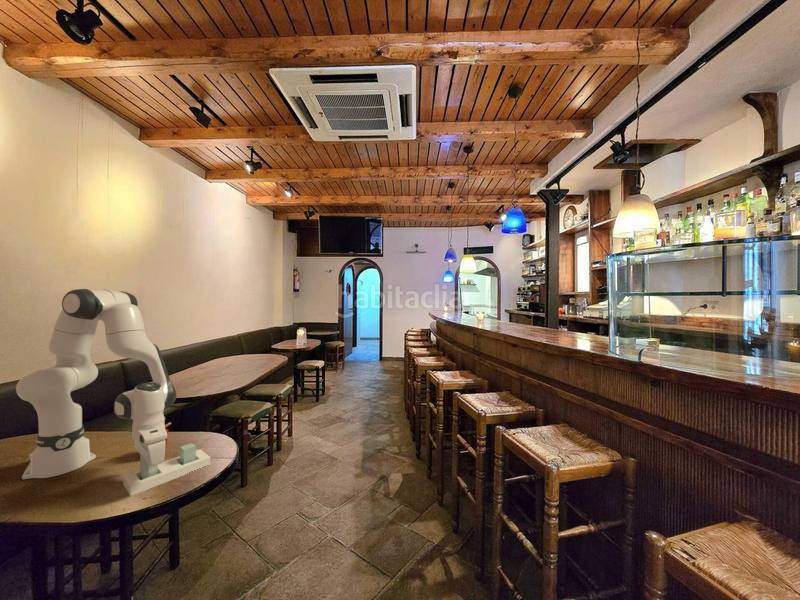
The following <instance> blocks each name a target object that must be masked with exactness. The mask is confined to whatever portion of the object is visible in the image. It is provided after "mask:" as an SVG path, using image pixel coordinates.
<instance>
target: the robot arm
mask: <svg viewBox="0 0 800 600" xmlns="http://www.w3.org/2000/svg"><path fill="white" fill-rule="evenodd" d="M138 305H139V304H138V299H137V297H136V296H135V295H134V294H132V293H130V292H127V291H121V290H120V291H118V290H113V289H112V290H111V289H106V288H105V289H89V288H79V289H73V290H70V291H68V292H67V293H66V294H65V295H64V296H63V298H62V301H61V307H62V309H61V312H60V313H59V314H58V317H57V319H56V322H55V325H54V327H53V329H52V330H53V332H52V334H51V338H50V340H49V343H48V350H49V352H50V353H52V354H53V355H55V358H56V360H55V362H56V363H55V365H54V366H50V367H47V368H42V369H39V370H38V369H37V370H35V371H33V372H32V373H29V374H27V375H24V376H23V377H22V378H20V379H19V380H18V382H17V383H16V386H15V392H16V394H17V395H18V397H19V398H20V399H21V400H23V401H25V402H29V403H30V404H31V405H32V406H33V408H34V409H35V411H36V413H37V420H38V423H37V424H38V435H36V439H35V440H36V448H35V449H34V450H33V451H32V452H30V453H29V454H28V461H30V462H29V464H28V465H27V467H26V468H25V470H24V472H23V474H22V476H21V479H22V480H28V479H30V480H31V479H48V478H52V477H56V476H61V475H65V474H67V473H70V472H73V471H75V470H78V469H79V468H81V467H83V466H85V465H86V464H87V463H89V462H91V461H92V460H94V459H96V458H97V455H96V454H95V453H93V452H91V450H90V439H89V438H87V437H85V436H84V435H85V433H84V432H85V428H84V425H83V408H82V406H81V404H79V403H78V402H77V403H76V402H74V401H73V399H72V397H71V393H72V392H73V391H77V390H79V389H83V388H85V387H86V386H88V385H90V384H91V383H92V382H94V381H95V380H96V379H97V378H98V375H99V369H98V367H97V365H96V364H95V363H93V362H92V358H91V357H92V356H91V355H92V354H91V351H92V347H93V343H94V339H95V335H96V331H97V327H98V324H99V321H100V320H101V321H102V322H103V324H104V329H105V330H104V331H105V332H104V333H105V342H106V345H107V348H108V350H109V351H110V352H111V353H113V354H114V355H116V356H119V357H122V358H126V359H133V360H137V361H140V362H143V363H145V364H146V366H147V368H148V370H149V374H150V376H151V379H152V381H153V382H149V381H148V382H142V383H140V384H138V385H136V386H135V387H134V389H132V390H128V391H124V392H122V393H119V395H117V397H116V398H115V400H114V402H113V413H114V416H116V417H117V418H120V419H122V420H130V419H131V420H132V426H131V428H132V431H131V433H132V435H131V436H132V440H133V441H134V448H135V450H136V451H137V452H138V453H139V455H142V457H143V458H144V459H145V460H146V462H147V463H148V467H147V471H148V472H149V473H151V472H154V471H155V465H158V464H161V463H163V462H164V461H165V456H166V451H165V439H167V440H168V437H167V431H166V429H167V428H166V429H165V425H166V424H165V420H166V417H165V416H164V411H165V410H168V409H170V408H171V406H173V404H174V403H175V401H176V399H177V391H176V388H175V386H174V384H173V383H172V381H171V378H170V376H169V373H168V370H167V366H166V364H165V361H164V358H163V356H162V353H161V350H160V349H159V347H158V345H157V344H155V343H152V341H150V339H149V338H148V336H147V333H146V327H145V326H146V325H145V322H144V318H143V315H142V313H141V310H140V308H139V307H138Z"/></svg>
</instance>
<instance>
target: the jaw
mask: <svg viewBox="0 0 800 600" xmlns="http://www.w3.org/2000/svg"><path fill="white" fill-rule="evenodd" d="M139 459H140V460H139V470H140V478H141V479H142V480H143V479H146V478H148V477H151V476H154V475H157V474H158V465H155V471H154V472H151V473H149V472H148V471H147V467H148V463H147V462H146V460H145V459H144V458H143V457H142V455H141V454H139Z"/></svg>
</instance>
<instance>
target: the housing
mask: <svg viewBox="0 0 800 600" xmlns="http://www.w3.org/2000/svg"><path fill="white" fill-rule="evenodd" d="M207 465H209V466H211V456H209V455H208V454H207V453H206V452H205V451H204V450H202V449H200V448H199V449H197V445H195V444H194V443H193V442H190V443H188V444H185V445H182V446H180V447H179V456H176V457H174V458H171V459H167V460H164V461H163V463H161V464H158V474H157V475H154V476H151V477H148V478H146V479H143V480H142V479H141V478H140V469H138V470H136V471H135V470H134V472H133V471H132V472H130V473H127V474H123V475H122V485H123V487H124V488H125V490H126V492H127V493H128V494H129V496H130V497H131V496H134V495H136V494H139V493H142V492H144V491H146V490H149V489H151V488H155V487H158V486H160V485H163V484H165V483H168V482H170V481H172V480H176V479H178V478H181V477H182V476H183V477H184V476H186V475H188V474H190V473H189V472H191V471H193V472H195V471H194V470H196V471H198V470H197V469H199V468H201V469H203V468H202V467H204V466H206V467H208V466H207ZM204 468H205V467H204ZM199 470H200V469H199ZM187 473H188V474H187ZM191 473H192V472H191ZM185 474H186V475H185ZM180 476H181V477H180Z"/></svg>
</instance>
